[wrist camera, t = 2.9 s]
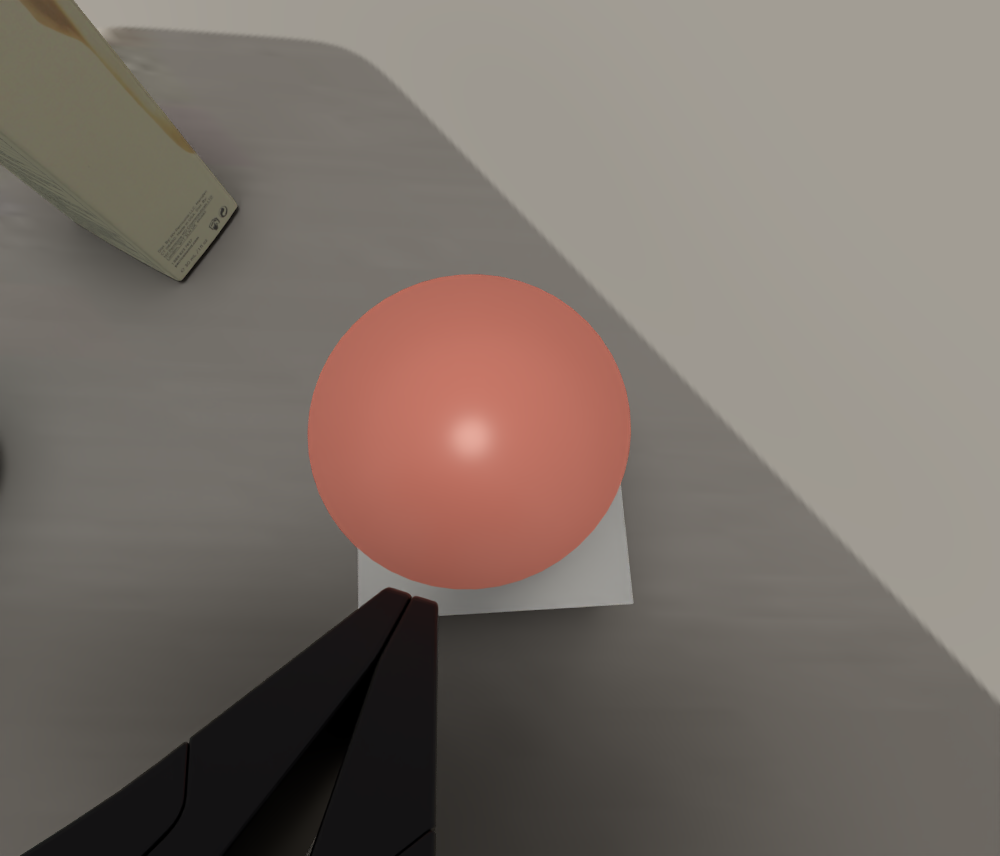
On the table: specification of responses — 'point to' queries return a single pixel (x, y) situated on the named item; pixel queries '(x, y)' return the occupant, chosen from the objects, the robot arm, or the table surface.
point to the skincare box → (100, 140)
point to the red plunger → (469, 431)
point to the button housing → (531, 578)
